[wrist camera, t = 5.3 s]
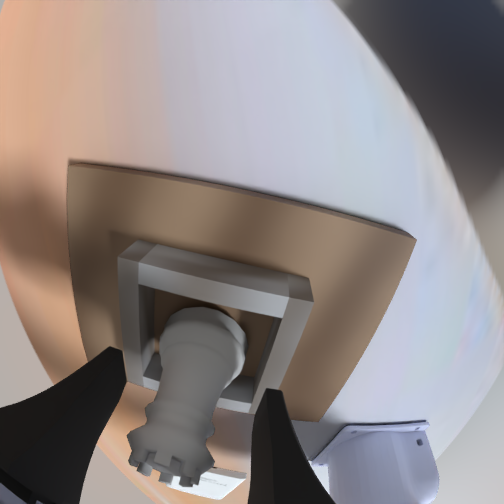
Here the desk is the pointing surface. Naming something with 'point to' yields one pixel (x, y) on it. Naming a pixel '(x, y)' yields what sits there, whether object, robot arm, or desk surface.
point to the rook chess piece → (188, 394)
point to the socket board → (229, 279)
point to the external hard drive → (212, 483)
